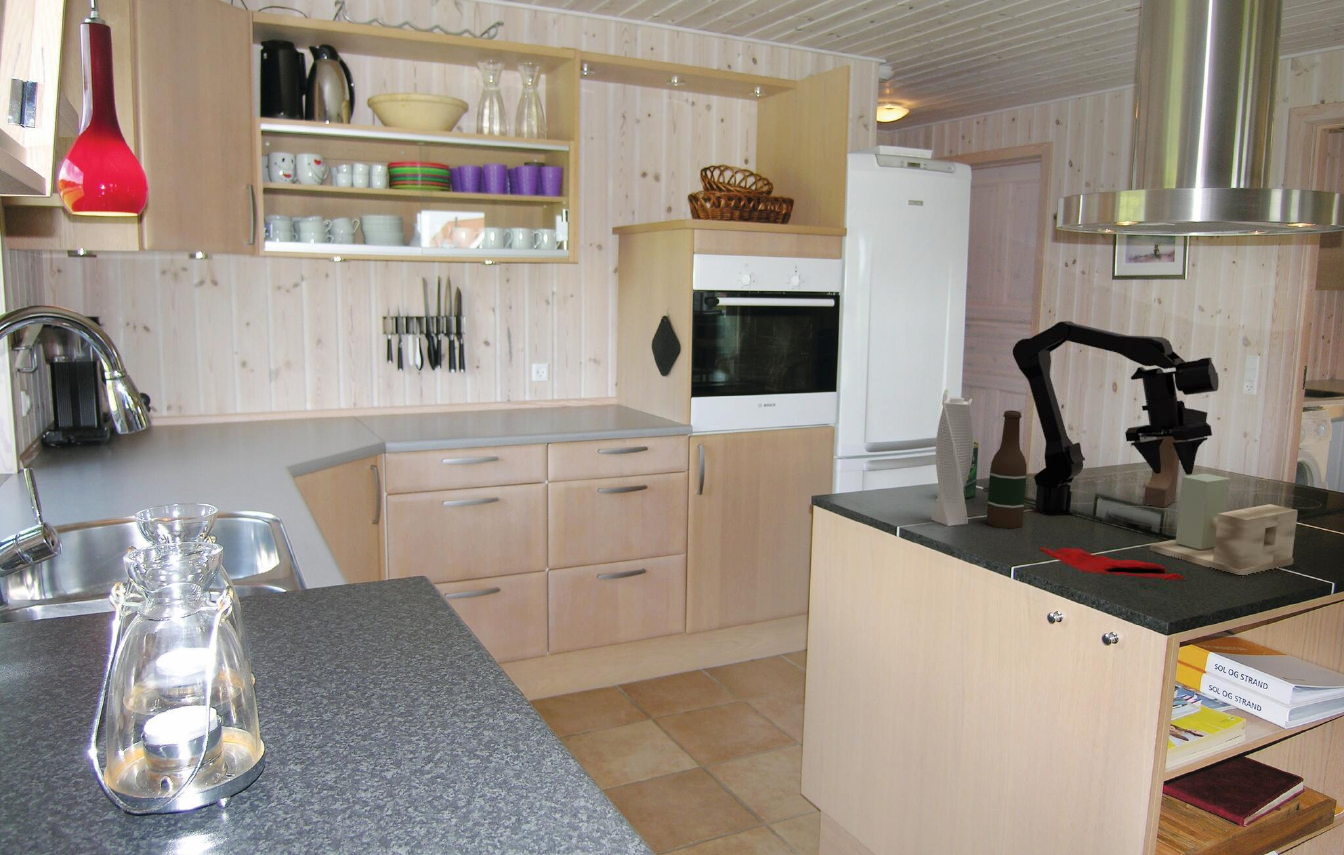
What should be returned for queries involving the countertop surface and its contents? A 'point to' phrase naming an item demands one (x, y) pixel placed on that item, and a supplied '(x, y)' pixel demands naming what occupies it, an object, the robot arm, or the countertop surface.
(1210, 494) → the block
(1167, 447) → the wooden block
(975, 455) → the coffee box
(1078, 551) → the cloth
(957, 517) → the skyscraper
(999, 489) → the beer bottle
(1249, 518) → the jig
